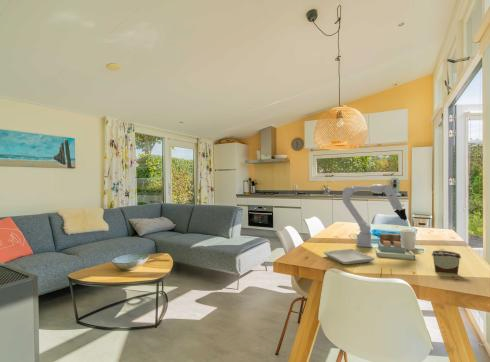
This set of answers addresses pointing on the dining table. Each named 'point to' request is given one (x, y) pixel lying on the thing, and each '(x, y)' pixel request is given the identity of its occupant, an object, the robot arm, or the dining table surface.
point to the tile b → (396, 244)
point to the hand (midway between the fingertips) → (404, 219)
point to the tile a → (386, 243)
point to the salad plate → (349, 256)
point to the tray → (396, 255)
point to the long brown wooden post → (389, 237)
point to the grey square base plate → (391, 248)
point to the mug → (408, 239)
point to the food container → (446, 262)
